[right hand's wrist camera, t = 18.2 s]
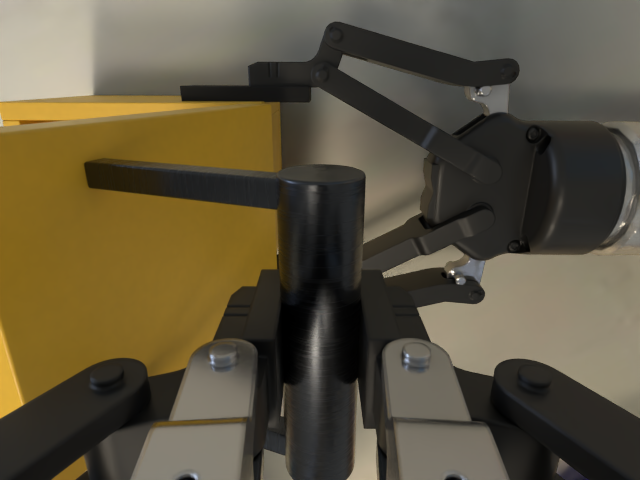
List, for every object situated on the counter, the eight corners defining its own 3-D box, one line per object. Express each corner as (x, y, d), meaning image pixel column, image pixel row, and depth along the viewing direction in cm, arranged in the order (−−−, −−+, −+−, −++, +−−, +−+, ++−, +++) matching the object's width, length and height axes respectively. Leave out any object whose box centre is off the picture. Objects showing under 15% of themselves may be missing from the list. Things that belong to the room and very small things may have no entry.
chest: (115, 227, 33) (41, 280, 24) (92, 95, 29) (-4, 102, 21) (283, 228, 33) (269, 281, 24) (279, 95, 29) (261, 102, 21)
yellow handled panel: (18, 488, 12) (305, 621, 9) (-99, 135, 9) (299, 165, 6) (257, 285, 24) (415, 314, 21) (247, 103, 20) (433, 107, 17)
